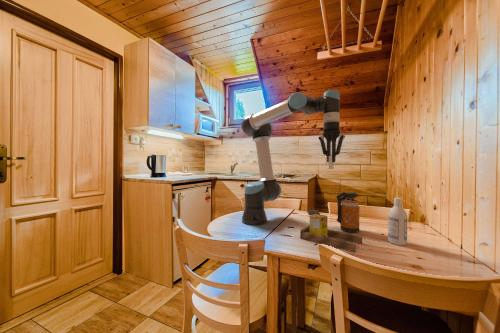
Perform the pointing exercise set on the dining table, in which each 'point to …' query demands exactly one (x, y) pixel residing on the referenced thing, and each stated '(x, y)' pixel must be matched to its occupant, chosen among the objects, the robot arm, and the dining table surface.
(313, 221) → the supplement box
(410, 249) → the dining table surface
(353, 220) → the canister
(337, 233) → the bay
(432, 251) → the dining table surface
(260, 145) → the robot arm
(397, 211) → the bath foam
